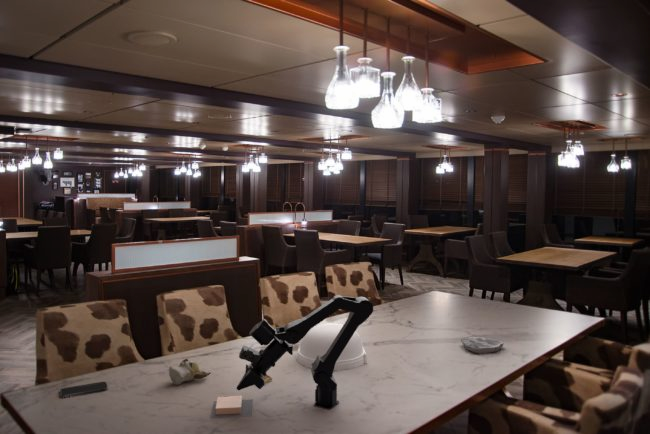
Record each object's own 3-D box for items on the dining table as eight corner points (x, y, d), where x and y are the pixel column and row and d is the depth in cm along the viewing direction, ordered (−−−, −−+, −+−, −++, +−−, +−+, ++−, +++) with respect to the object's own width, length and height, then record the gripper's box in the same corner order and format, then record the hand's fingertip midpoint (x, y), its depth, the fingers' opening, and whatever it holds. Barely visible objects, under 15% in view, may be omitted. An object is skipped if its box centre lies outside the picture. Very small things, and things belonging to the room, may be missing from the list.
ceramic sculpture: (162, 359, 187) (196, 352, 198) (161, 382, 187) (195, 374, 198) (178, 366, 180) (212, 358, 191) (176, 390, 180) (211, 381, 191)
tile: (242, 395, 169) (217, 397, 168) (241, 407, 160) (215, 408, 159) (242, 402, 169) (217, 403, 168) (241, 413, 160) (215, 415, 159)
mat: (252, 400, 171) (252, 399, 171) (252, 416, 158) (252, 415, 158) (214, 402, 170) (214, 401, 170) (210, 419, 157) (210, 418, 157)
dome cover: (282, 364, 208) (282, 331, 207) (311, 344, 235) (311, 315, 235) (354, 375, 195) (355, 339, 195) (377, 353, 223) (377, 322, 222)
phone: (107, 388, 179) (60, 396, 172) (107, 391, 179) (60, 399, 172) (105, 381, 186) (60, 388, 179) (105, 384, 186) (60, 391, 179)
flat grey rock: (479, 340, 243) (479, 334, 243) (509, 349, 229) (509, 343, 228) (451, 347, 232) (451, 341, 232) (480, 357, 218) (480, 350, 218)
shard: (255, 373, 199) (255, 367, 199) (277, 374, 197) (277, 369, 197) (243, 385, 186) (243, 379, 186) (267, 387, 184) (267, 381, 184)
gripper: (253, 330, 173) (221, 363, 172) (253, 346, 155) (217, 383, 154) (276, 352, 174) (244, 384, 174) (279, 370, 156) (243, 407, 155)
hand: (237, 389), depth 164 cm, fingers closed
